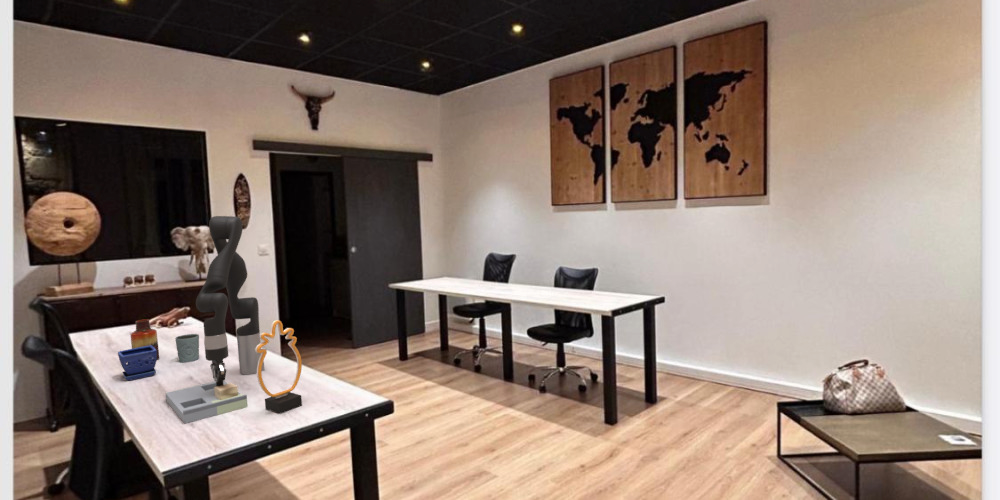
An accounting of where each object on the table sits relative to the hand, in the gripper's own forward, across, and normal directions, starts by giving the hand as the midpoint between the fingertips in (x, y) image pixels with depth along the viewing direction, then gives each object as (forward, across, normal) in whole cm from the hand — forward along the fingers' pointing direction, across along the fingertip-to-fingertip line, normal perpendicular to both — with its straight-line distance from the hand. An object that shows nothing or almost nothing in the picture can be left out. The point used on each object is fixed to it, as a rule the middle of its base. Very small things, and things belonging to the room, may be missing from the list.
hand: (220, 390), depth 196 cm
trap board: (+4, +2, +5) cm, 6 cm away
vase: (+5, +93, +11) cm, 94 cm away
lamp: (+4, -25, -14) cm, 29 cm away
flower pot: (+4, +64, +17) cm, 67 cm away
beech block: (+1, -5, -1) cm, 5 cm away
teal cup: (+4, +76, -5) cm, 76 cm away
